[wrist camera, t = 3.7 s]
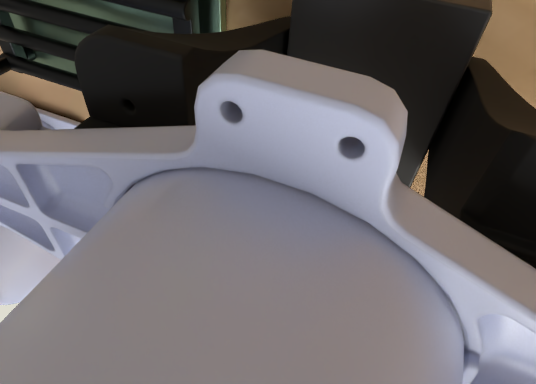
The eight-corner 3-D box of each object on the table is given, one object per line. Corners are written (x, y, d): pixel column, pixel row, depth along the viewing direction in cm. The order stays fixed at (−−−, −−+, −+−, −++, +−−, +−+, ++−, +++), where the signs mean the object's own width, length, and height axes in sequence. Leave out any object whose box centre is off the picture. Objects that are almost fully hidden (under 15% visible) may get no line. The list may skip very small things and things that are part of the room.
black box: (416, 136, 15) (402, 205, 12) (309, 107, 16) (274, 164, 13) (491, -37, 11) (494, 11, 8) (338, -63, 12) (294, -28, 9)
